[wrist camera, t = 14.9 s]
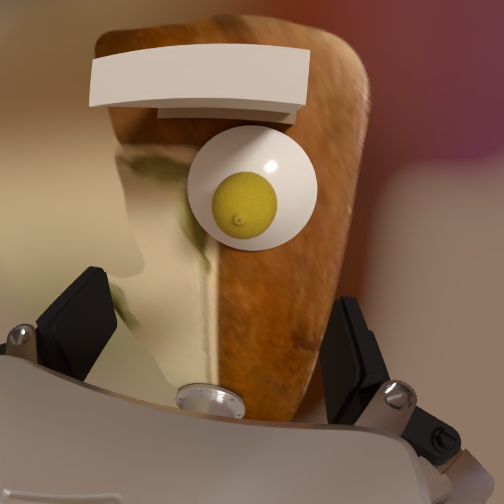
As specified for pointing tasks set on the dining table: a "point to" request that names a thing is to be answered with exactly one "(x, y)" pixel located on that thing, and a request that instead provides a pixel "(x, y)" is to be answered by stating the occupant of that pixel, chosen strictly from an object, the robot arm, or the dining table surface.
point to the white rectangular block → (206, 81)
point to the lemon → (244, 205)
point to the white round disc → (266, 165)
